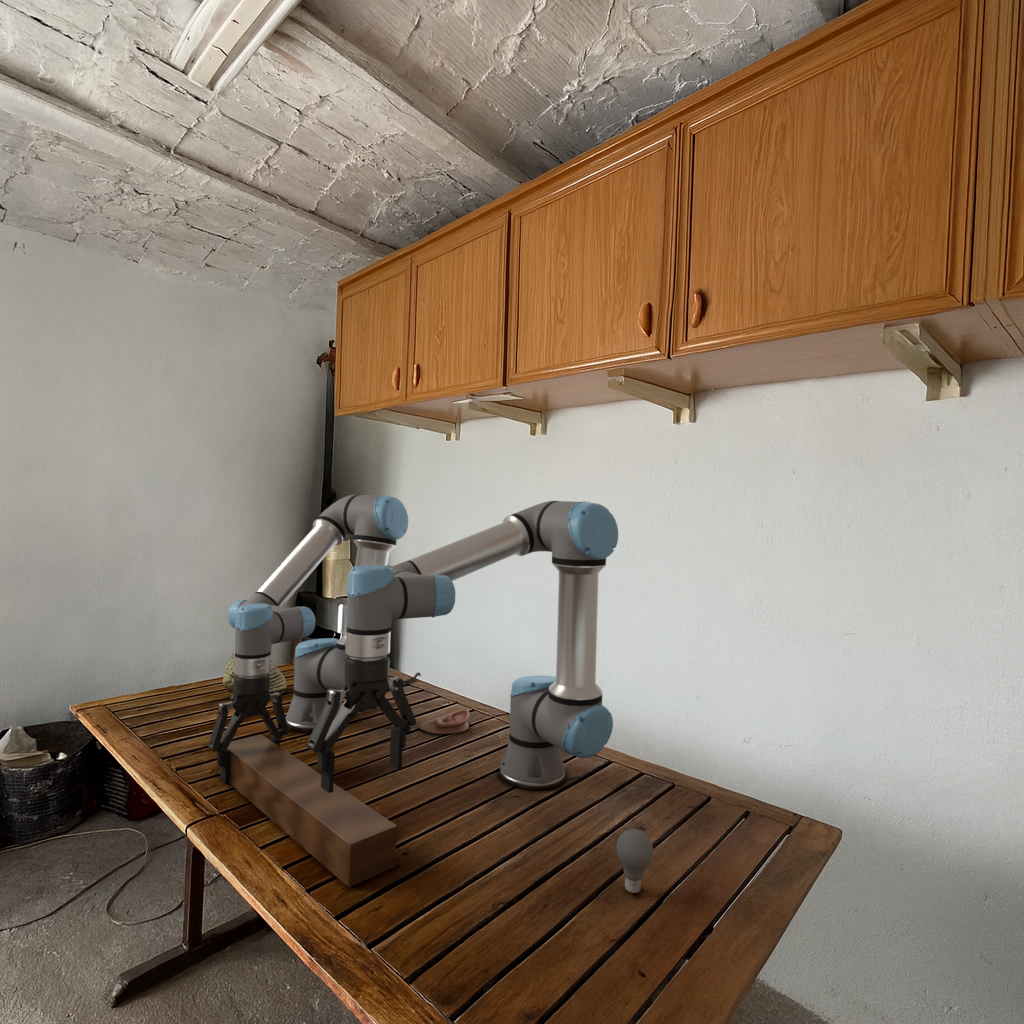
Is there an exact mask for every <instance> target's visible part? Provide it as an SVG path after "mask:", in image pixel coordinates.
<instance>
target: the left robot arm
mask: <svg viewBox="0 0 1024 1024" xmlns="http://www.w3.org/2000/svg"><path fill="white" fill-rule="evenodd" d="M408 529H409V514H408V511H407V508H406V507H405V504H404V503H403V502H402V501H401V500H400V499H399V498H397V497H395V496H390V495H383V494H380V495H377V494H376V495H375V494H349V495H346V496H344V497H342V498H340V499H338V500H336V501H335V502H333V503H332V504H330V505H329V506H328V507H327V508H325V510H323V511H322V512H321V513H320V514H319V515H318V516H317V518H316V519H315V520H314V521H313V522H312V528H311V530H310V531H309V532H308V533H307V534H306V535H305V536H304V538H302V540H301V541H300V542H299V543H298V544H297V545H296V546H295V547H294V549H293V550H292V551H291V552H290V553H289V554H288V555H287V557H285V559H284V560H283V561H282V562H281V563H280V564H279V565H278V567H277V568H275V569H274V570H273V572H272V573H271V574H270V575H269V576H268V578H266V580H265V581H264V582H262V584H261V585H260V586H259V588H257V590H256V591H255V592H254V593H253V594H251V596H250V597H249V598H248V599H240V600H237V601H235V602H234V603H233V604H232V605H231V607H230V608H229V610H228V613H227V620H228V623H229V625H230V627H232V628H233V629H234V630H235V631H234V632H235V633H234V634H235V635H234V651H235V662H234V674H236V676H235V677H234V688H233V693H234V696H233V698H231V701H227V702H219V703H218V704H217V716H216V719H215V723H214V725H213V728H212V732H211V734H210V738H209V741H208V745H207V748H208V749H209V750H211V752H214V753H216V764H217V766H218V767H219V768H220V767H221V776H220V779H221V780H222V781H223V782H224V783H229V766H230V751H228V750H227V748H228V746H229V744H230V743H231V741H233V739H234V737H235V735H236V733H237V731H238V730H239V728H240V725H242V724H243V722H244V721H245V719H249V718H252V717H257V716H260V718H261V719H262V722H263V723H264V725H265V726H266V729H267V730H268V732H269V733H270V735H271V736H269V737H267V739H269V740H270V741H272V742H273V743H275V744H276V745H278V746H279V747H281V740H283V737H284V736H285V735H288V734H289V730H291V731H294V732H295V731H296V732H301V733H312V731H313V729H314V727H315V725H316V722H317V720H318V718H319V716H320V714H321V711H322V709H323V707H324V705H325V702H326V696H327V691H328V689H330V688H332V689H334V690H343V689H344V687H345V677H344V673H345V658H346V657H347V656H348V655H347V654H346V653H345V645H346V629H347V616H345V617H346V618H345V624H344V629H343V635H342V636H341V637H340V638H339V639H338V638H335V637H329V638H328V637H326V638H313V639H308V640H304V641H302V642H299V643H298V644H297V645H296V647H295V652H294V653H295V654H294V657H293V659H294V660H293V662H294V663H293V665H294V666H293V695H292V696H293V697H292V699H291V702H290V704H289V708H288V711H287V713H286V714H285V710H284V706H283V700H284V695H283V693H278V692H275V693H274V694H270V693H269V689H270V675H269V674H268V673H269V672H270V663H271V659H272V645H275V644H279V643H285V642H289V641H295V640H297V641H298V640H301V639H303V638H306V637H309V636H310V635H312V634H313V632H314V630H315V628H316V616H315V614H314V612H313V611H312V609H311V608H309V607H307V606H298V605H297V606H296V605H295V606H294V607H285V605H286V603H287V602H288V601H289V600H290V599H291V598H292V596H293V595H294V594H295V593H296V592H297V590H298V589H299V588H300V587H301V586H302V585H303V584H304V582H306V580H307V579H308V578H309V576H310V575H311V574H312V573H313V572H314V570H315V569H316V568H317V567H318V566H319V565H320V564H321V562H322V561H323V560H324V559H325V557H326V556H328V554H329V553H330V552H331V551H332V549H333V548H334V547H335V546H340V545H341V544H342V543H344V541H345V540H346V539H348V538H350V537H353V539H352V541H353V543H354V544H355V546H356V547H357V551H356V556H355V563H354V567H355V566H360V565H381V566H387V565H388V562H389V557H390V556H389V555H390V553H391V551H393V550H394V549H395V548H396V547H397V541H398V540H400V539H402V538H403V537H404V536H405V534H406V533H407V531H408ZM418 676H419V677H421V676H422V674H421V673H420V672H419V671H418V672H416V673H415V675H414V676H413V677H411V678H409V679H406V680H403V685H405V684H408V683H410V682H412V681H414V680H415V679H417V677H418ZM270 702H271V703H272V707H273V712H274V717H275V720H276V723H277V726H276V723H275V722H274V720H273V719H272V717H271V715H270V712H269V711H268V709H267V706H268V704H269V703H270ZM341 706H342V705H341V704H340V705H339V708H338V711H337V713H336V715H335V717H336V716H337V714H338V713H339V712H340V707H341ZM232 708H233V709H234V711H233V713H232V715H231V719H230V720H229V723H228V724H227V721H228V718H229V713H230V712H231V710H232ZM334 719H335V718H334ZM226 724H227V727H226Z"/></svg>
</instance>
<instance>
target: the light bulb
mask: <svg viewBox="0 0 1024 1024" xmlns="http://www.w3.org/2000/svg"><path fill="white" fill-rule="evenodd" d="M615 849H616V854H617V857H618V859H619V861H620V863H621V865H622V867H623V873H624V874H623V875H624V876H625V878H624V888H625V890H627V891H628V892H630V893H634V894H635V893H639V892H640V891H641V889H642V887H641V886H642V879H643V877H644V875H645V871H646V868H647V867H648V866H649V864H650V863H651V861H652V859H653V855H654V847H653V843H652V841H651V838H649V836H648V835H647V834H646V833H645V832H643V831H642V830H641V829H636V828H629V829H627V830H625V831H623V832H622V833H621V834H620V835H619V837H618V839H617V841H616V847H615Z"/></svg>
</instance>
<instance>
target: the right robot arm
mask: <svg viewBox="0 0 1024 1024" xmlns="http://www.w3.org/2000/svg"><path fill="white" fill-rule="evenodd" d="M618 542H619V526H618V524H617V520H616V518H615V516H614V514H612V513H611V512H610V509H608V508H607V507H606V506H604V505H602V504H601V503H597V502H591V501H586V500H583V501H570V500H569V501H567V500H548V501H544V502H540V503H537V504H535V505H532V506H530V507H527V508H524V509H522V510H520V511H517V512H514V513H512V514H510V515H507V516H505V517H504V518H503V520H502V522H501V523H499V524H497V525H494V526H491V527H489V528H486V529H483V530H481V531H479V532H477V533H474V534H471V535H469V536H466V537H463V538H461V539H459V540H456V541H453V542H451V543H449V544H445V545H443V546H441V547H438V548H436V549H433V550H430V551H427V552H426V553H423V554H420V555H418V556H416V557H413V558H411V559H408V560H405V561H402V562H399V563H397V564H395V565H388V564H387V566H381V565H360V566H355V565H354V566H353V567H352V568H351V569H350V571H349V573H348V579H347V589H346V596H347V597H346V600H347V602H346V617H347V629H346V645H345V653H346V654H347V655H348V656H347V657H346V658H345V673H344V677H345V687H344V689H343V690H334V689H332V688H330V689H328V691H327V696H326V702H325V705H324V707H323V709H322V711H321V714H320V716H319V718H318V720H317V722H316V725H315V727H314V729H313V731H312V732H310V736H309V738H308V740H307V742H306V748H307V749H309V750H311V751H312V752H314V753H317V766H316V768H317V770H318V771H319V773H320V772H321V773H320V774H321V788H323V789H324V790H325V791H327V792H328V793H331V792H333V784H335V783H334V780H335V754H336V752H335V751H333V750H332V749H333V747H334V746H335V745H336V744H337V742H338V740H339V738H340V737H341V736H342V734H343V733H344V731H345V730H346V728H347V727H348V725H349V724H350V723H351V721H352V719H353V718H356V716H357V715H358V714H359V713H365V712H367V711H373V710H377V709H379V710H380V711H381V712H382V713H383V714H384V716H385V717H386V718H387V719H388V720H389V722H390V723H391V724H392V725H393V726H394V728H392V729H390V742H389V743H390V746H389V766H390V767H392V768H393V769H395V770H396V771H400V770H402V769H403V768H402V767H403V750H404V749H405V748H406V745H407V734H409V733H410V732H411V727H414V726H416V725H417V720H416V717H415V715H414V712H413V710H412V707H411V704H410V702H409V700H408V697H407V695H406V693H405V689H404V684H403V682H404V680H403V679H402V678H400V677H398V676H395V675H391V676H390V663H391V662H390V661H391V658H390V657H389V654H390V653H391V634H392V621H393V620H394V621H395V620H404V619H405V620H406V619H417V618H418V619H420V618H421V619H422V618H436V617H443V616H447V615H449V614H450V613H451V612H452V611H453V609H454V607H455V604H456V594H457V593H456V588H455V585H454V581H457V580H459V579H461V578H464V577H466V576H468V575H470V574H472V573H476V572H478V571H480V570H483V569H484V568H485V569H486V567H489V566H492V565H494V564H496V563H499V562H501V561H503V560H506V559H508V558H510V557H512V556H515V555H516V556H518V557H524V556H527V555H529V554H532V553H536V552H537V553H538V552H549V553H551V565H552V566H553V567H554V568H555V569H556V570H557V573H558V579H557V580H558V582H557V624H556V657H555V658H556V661H555V663H556V664H555V676H553V675H544V674H543V675H527V676H526V675H525V676H522V677H518V678H516V679H515V680H514V681H513V682H512V684H511V690H510V694H509V697H510V704H509V707H510V710H509V735H508V743H507V746H506V748H505V752H504V754H503V757H502V760H501V762H500V766H499V777H500V778H501V779H502V780H503V781H504V782H505V783H507V784H509V785H511V786H513V787H516V788H520V789H525V790H526V789H527V790H547V789H551V788H555V787H558V786H560V785H561V784H562V783H564V781H565V780H566V768H565V767H566V766H565V763H564V760H563V756H562V752H561V750H562V751H563V752H564V753H566V754H567V755H571V756H575V757H576V758H578V759H589V758H592V757H594V756H596V755H598V754H599V753H600V752H601V751H602V750H603V749H604V747H605V746H606V745H607V744H608V742H609V740H610V738H611V736H612V732H613V727H614V719H613V715H612V713H611V712H610V711H609V709H608V708H607V707H606V706H605V705H603V689H602V688H601V687H600V686H599V685H598V683H597V681H596V677H597V650H598V649H597V643H598V611H599V610H598V609H599V608H598V607H599V577H600V576H599V574H600V572H602V570H603V569H604V568H605V567H606V566H607V558H608V557H610V556H611V555H612V554H613V553H614V549H615V548H617V545H618ZM388 678H389V679H388ZM389 691H390V693H391V695H392V698H393V700H394V703H395V705H396V708H397V710H398V712H399V713H398V712H397V711H396V710H395V709H394V707H393V706H392V704H391V702H390V701H389V700H388V699H387V697H386V694H387V692H389ZM343 699H345V700H343ZM342 702H343V703H342ZM339 705H340V706H341V707H340V712H339V713H338V714H337V716H336V717H335V715H336V713H337V711H338V708H339ZM399 714H400V715H399ZM334 718H335V719H334Z"/></svg>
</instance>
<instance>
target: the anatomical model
mask: <svg viewBox="0 0 1024 1024" xmlns="http://www.w3.org/2000/svg"><path fill="white" fill-rule="evenodd" d="M470 715H471V714H470V711H469V710H468V709H461V710H457V711H454V712H450V713H447V714H445V715H442V716H439V717H437V718H436V717H435V718H432V719H429V720H427V721H424V722H422V723H421V724H420V725H419V726H418V728H419V730H421V731H423V732H427V733H430V734H434V735H445V734H447V735H448V734H455V733H456V734H457V733H462V732H465V731H467V730H468V729H469V726H470V724H469V722H468V721H469V720H470V717H471V716H470Z"/></svg>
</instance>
